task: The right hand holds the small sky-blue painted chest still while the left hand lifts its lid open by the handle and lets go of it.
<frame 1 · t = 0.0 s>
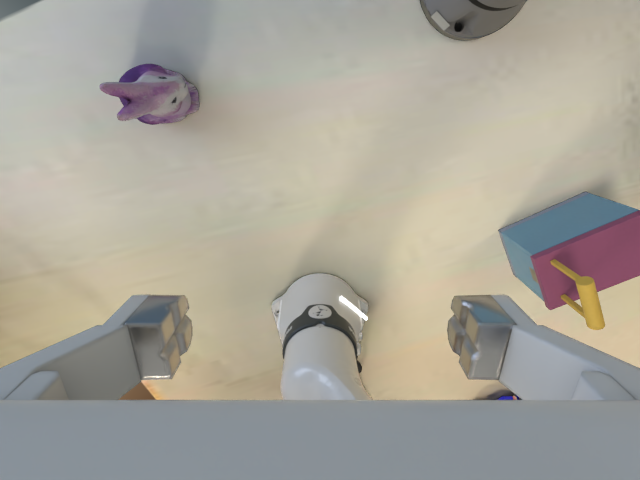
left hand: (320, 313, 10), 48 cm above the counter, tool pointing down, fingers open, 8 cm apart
figurine: (170, 94, 52), on the counter
chest: (547, 235, 61), on the counter
lid: (612, 274, 47), point 15 cm above the counter, hinge at 0.0°
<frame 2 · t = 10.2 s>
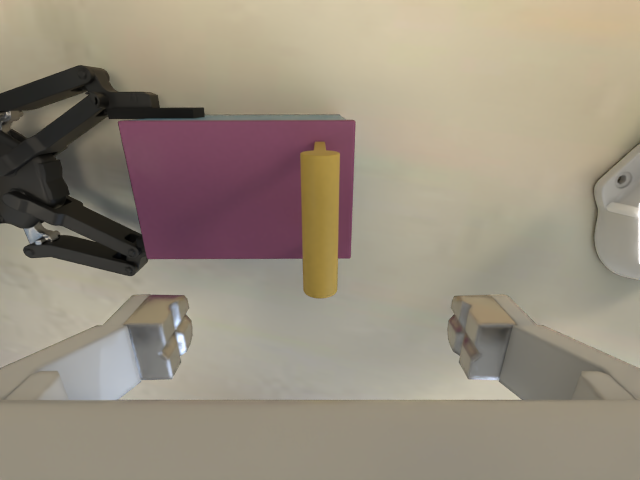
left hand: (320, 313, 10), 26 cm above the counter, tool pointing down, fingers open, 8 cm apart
right hand: (207, 179, 29), fingers closed on chest, 10 cm apart
chest: (264, 166, 35), on the counter, touching right hand
lid: (232, 208, 21), point 15 cm above the counter, hinge at 0.0°
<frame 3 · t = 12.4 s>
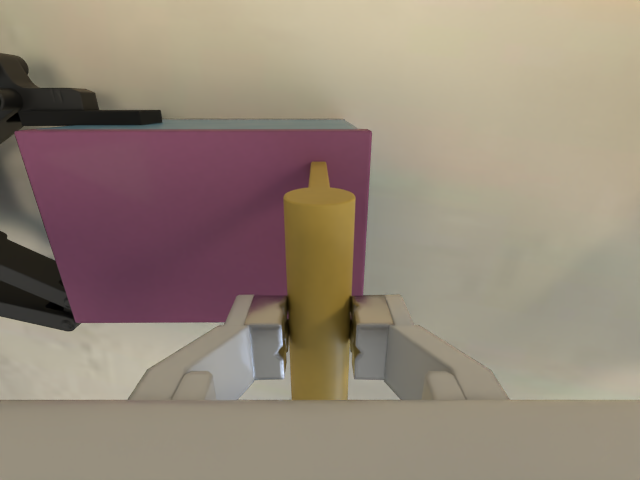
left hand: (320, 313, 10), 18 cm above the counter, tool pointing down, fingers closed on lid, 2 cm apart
chest: (248, 184, 27), on the counter, touching right hand
lid: (183, 267, 14), point 15 cm above the counter, hinge at -0.2°, touching left hand
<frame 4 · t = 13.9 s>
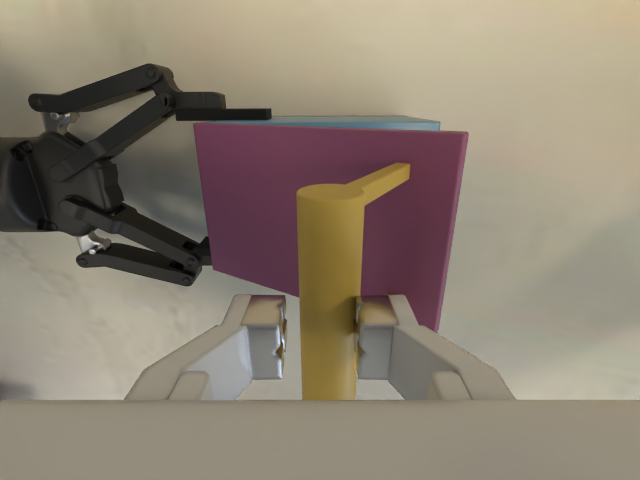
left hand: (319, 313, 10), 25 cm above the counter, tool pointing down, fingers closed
right hand: (273, 184, 28), fingers closed on chest, 10 cm apart
chest: (321, 170, 33), on the counter, touching right hand
lid: (264, 240, 16), point 18 cm above the counter, hinge at 30.3°, touching left hand
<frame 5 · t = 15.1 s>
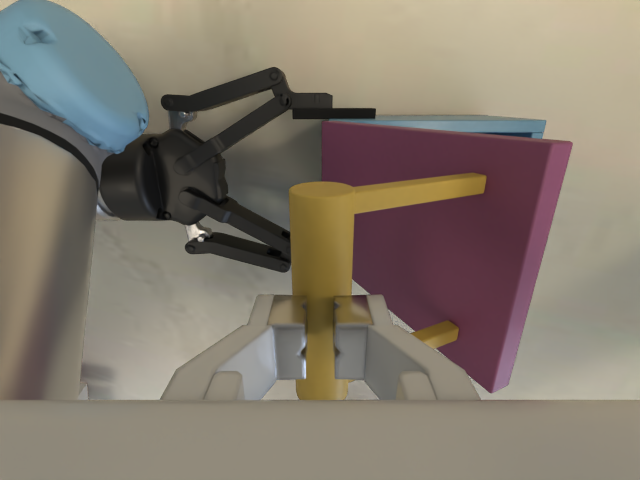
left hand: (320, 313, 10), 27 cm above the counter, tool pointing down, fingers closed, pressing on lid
right hand: (370, 178, 30), fingers closed on chest, 10 cm apart
chest: (401, 166, 35), on the counter, touching right hand
lid: (333, 233, 17), point 20 cm above the counter, hinge at 62.1°, touching left hand
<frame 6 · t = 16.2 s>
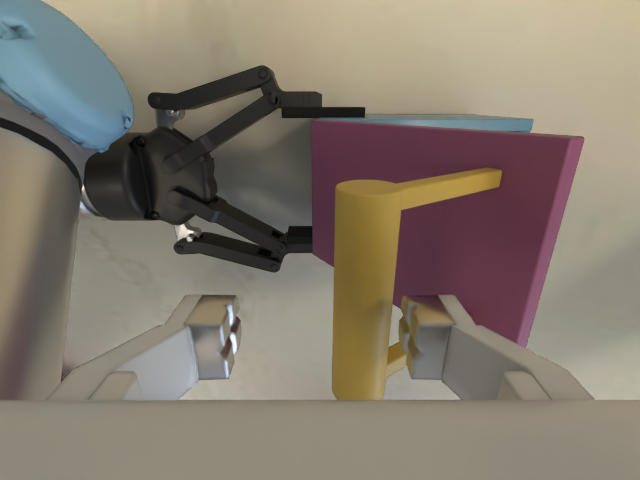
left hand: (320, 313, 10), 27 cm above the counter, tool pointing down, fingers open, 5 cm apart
right hand: (360, 177, 30), fingers closed on chest, 10 cm apart
chest: (391, 165, 35), on the counter, touching right hand
lid: (342, 232, 17), point 20 cm above the counter, hinge at 55.5°
when the right hand's fingers open (6 cm above the counter, at t = 19.4 s): chest stays where it is, on the counter.
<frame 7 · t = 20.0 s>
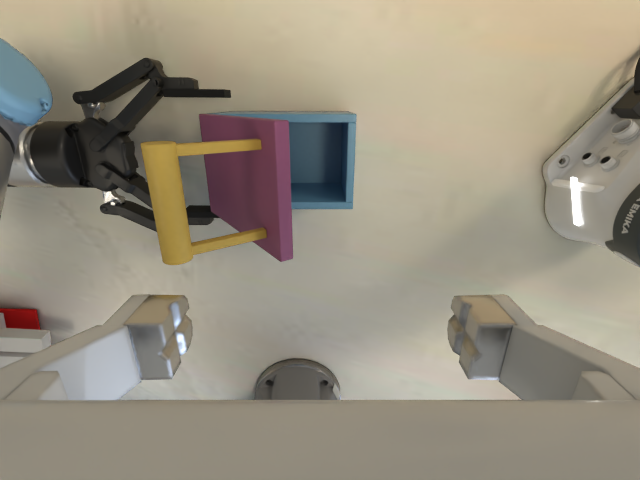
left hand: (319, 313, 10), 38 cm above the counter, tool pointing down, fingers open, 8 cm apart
right hand: (233, 156, 40), fingers open, 13 cm apart
chest: (291, 151, 46), on the counter
lid: (196, 182, 28), point 20 cm above the counter, hinge at 54.7°
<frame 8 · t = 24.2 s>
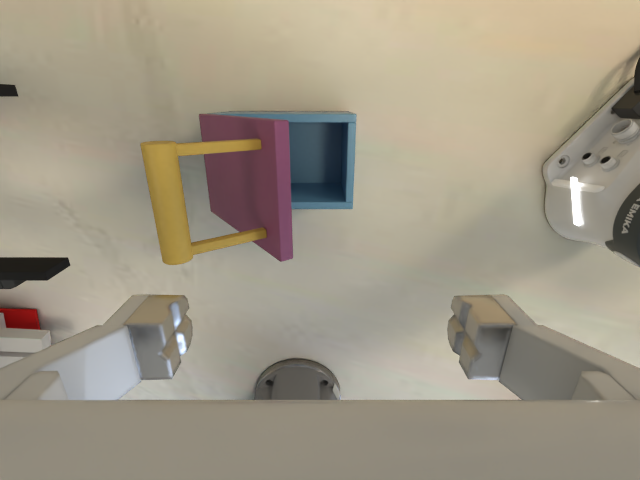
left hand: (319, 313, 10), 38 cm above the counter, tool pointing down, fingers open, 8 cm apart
chest: (291, 151, 46), on the counter
lid: (196, 182, 28), point 20 cm above the counter, hinge at 54.7°
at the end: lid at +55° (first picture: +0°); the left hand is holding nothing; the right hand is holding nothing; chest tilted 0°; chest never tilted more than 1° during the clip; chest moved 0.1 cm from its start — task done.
